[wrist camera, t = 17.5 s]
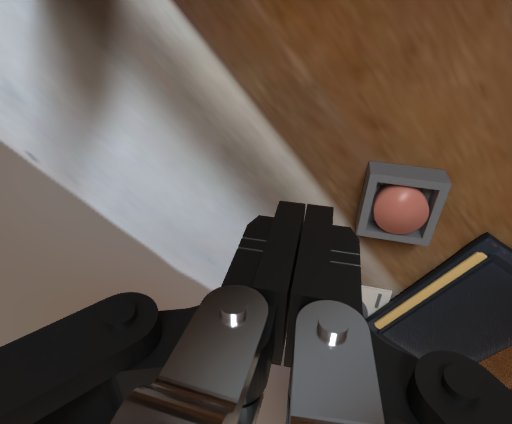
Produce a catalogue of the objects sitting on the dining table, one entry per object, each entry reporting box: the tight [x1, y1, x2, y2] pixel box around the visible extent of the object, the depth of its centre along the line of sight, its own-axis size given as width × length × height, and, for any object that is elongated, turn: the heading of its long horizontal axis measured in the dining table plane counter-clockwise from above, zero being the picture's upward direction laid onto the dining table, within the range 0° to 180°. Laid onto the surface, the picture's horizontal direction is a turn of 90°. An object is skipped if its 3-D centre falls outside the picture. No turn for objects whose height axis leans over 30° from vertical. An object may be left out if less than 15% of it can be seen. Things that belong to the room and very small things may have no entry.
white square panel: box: [361, 285, 392, 319], centre depth 47 cm, size 11×10×1 cm
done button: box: [373, 183, 429, 234], centre depth 35 cm, size 5×5×2 cm
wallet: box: [365, 232, 512, 363], centre depth 42 cm, size 20×2×15 cm
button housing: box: [356, 161, 452, 246], centre depth 36 cm, size 7×7×3 cm
